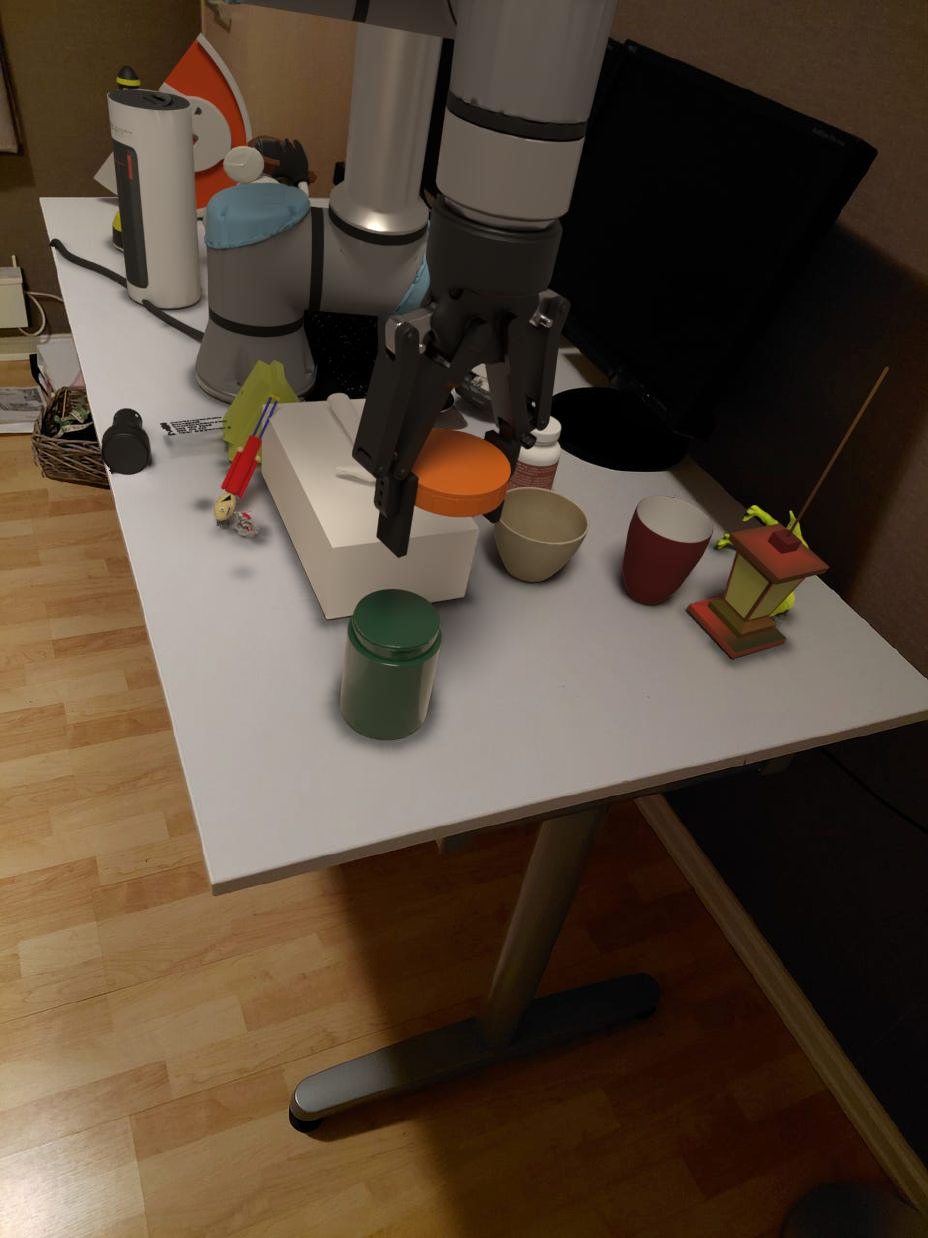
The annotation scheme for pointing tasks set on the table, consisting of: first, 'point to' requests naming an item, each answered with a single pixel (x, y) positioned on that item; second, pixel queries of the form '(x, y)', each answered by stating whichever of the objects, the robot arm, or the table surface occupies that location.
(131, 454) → the flashlight
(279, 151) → the toy
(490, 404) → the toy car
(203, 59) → the wall plaque
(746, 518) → the dinosaur figurine
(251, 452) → the figurine
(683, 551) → the mug
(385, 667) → the jar
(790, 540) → the light fixture
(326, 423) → the hammer relief block
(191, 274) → the speaker
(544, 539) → the flower pot
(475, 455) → the lid
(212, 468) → the table surface
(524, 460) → the pill bottle
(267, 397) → the bracket
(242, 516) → the figurine
